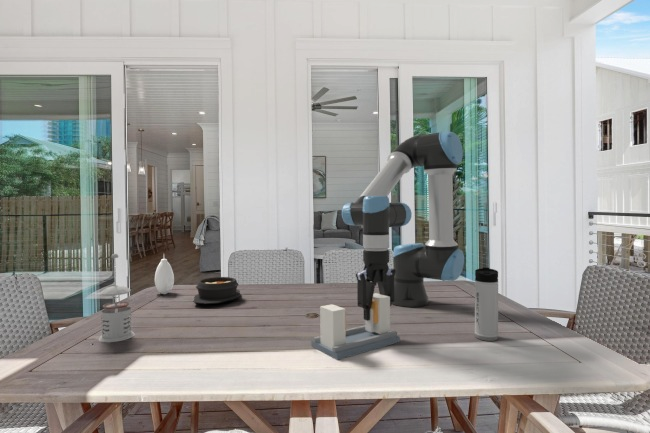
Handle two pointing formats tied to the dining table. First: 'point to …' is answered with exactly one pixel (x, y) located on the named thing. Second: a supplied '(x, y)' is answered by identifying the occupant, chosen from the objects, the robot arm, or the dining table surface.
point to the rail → (347, 335)
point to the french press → (116, 315)
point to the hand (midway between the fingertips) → (376, 328)
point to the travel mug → (486, 304)
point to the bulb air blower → (164, 277)
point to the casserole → (216, 290)
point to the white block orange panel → (381, 313)
